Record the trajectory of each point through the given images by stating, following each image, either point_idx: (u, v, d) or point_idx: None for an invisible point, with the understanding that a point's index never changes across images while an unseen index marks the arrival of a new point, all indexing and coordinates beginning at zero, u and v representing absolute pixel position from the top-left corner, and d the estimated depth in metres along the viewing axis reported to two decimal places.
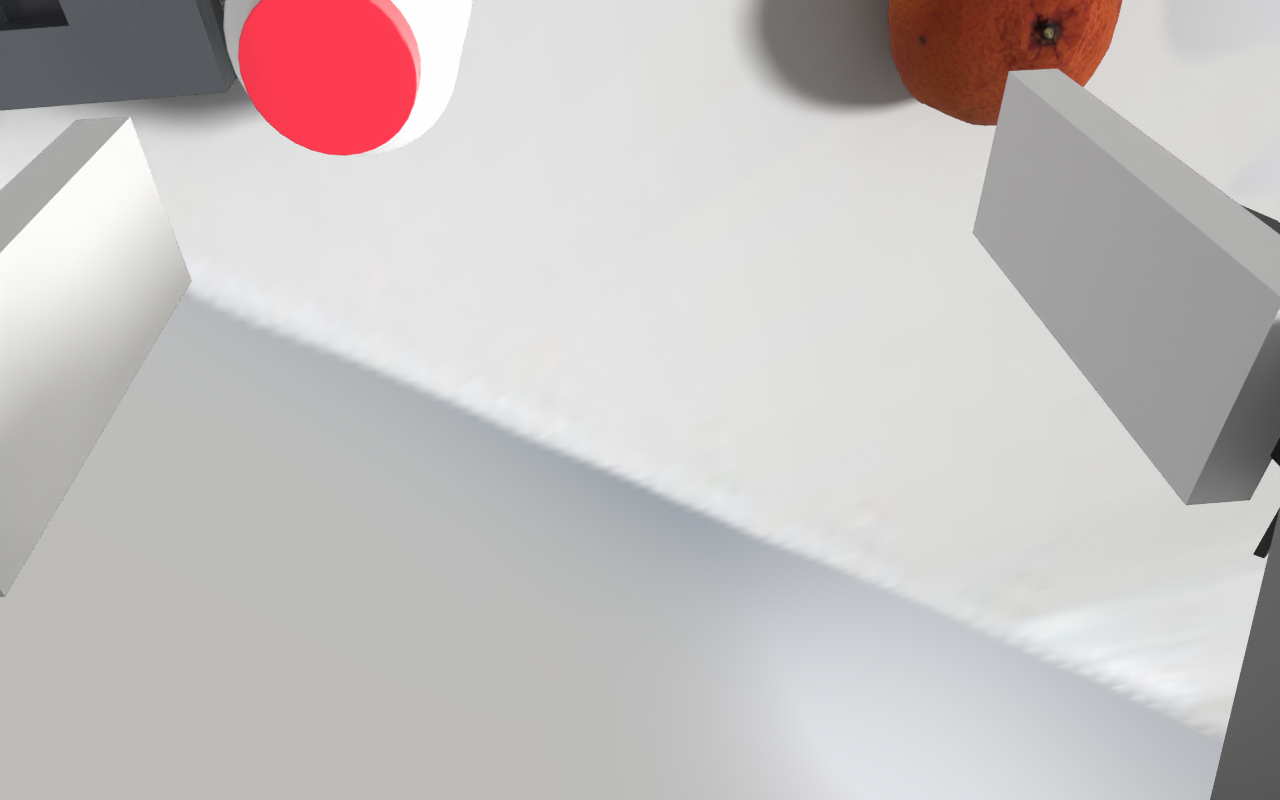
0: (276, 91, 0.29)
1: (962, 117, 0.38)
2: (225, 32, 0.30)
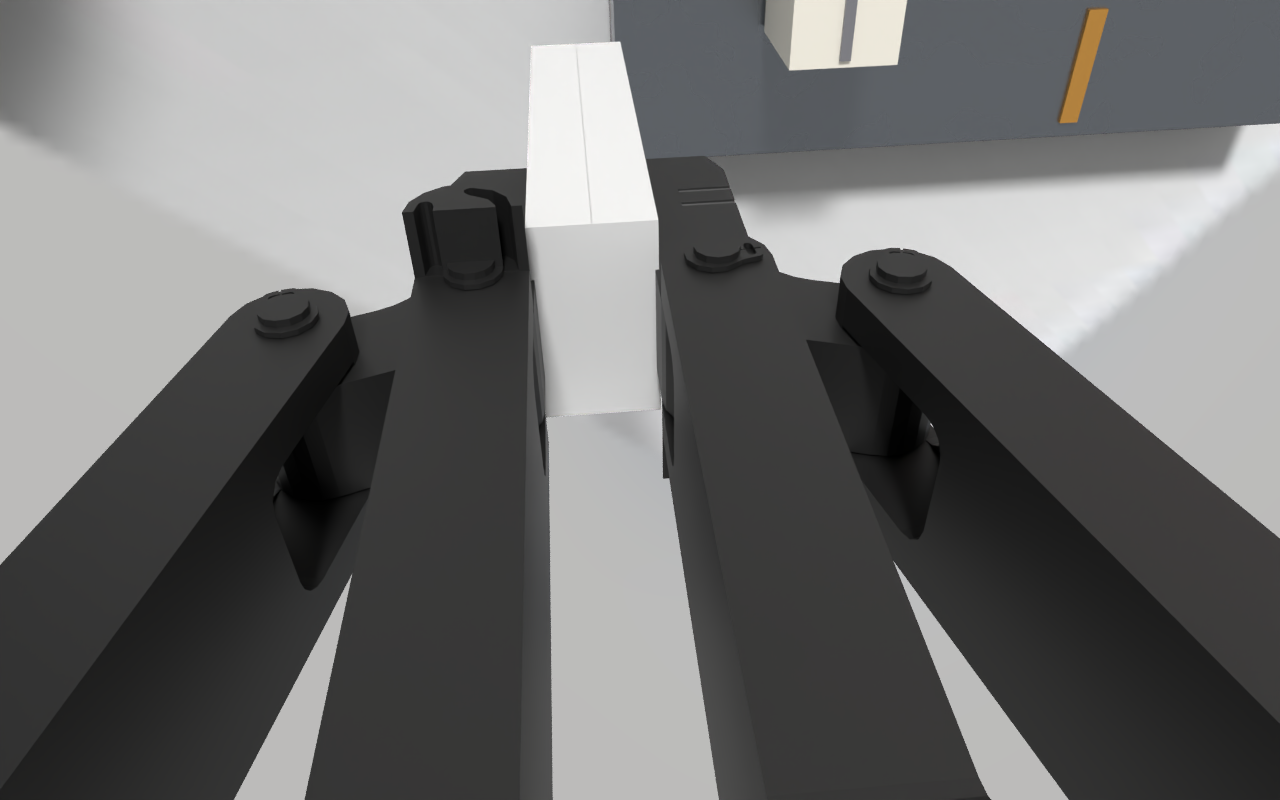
0: None
1: None
2: None
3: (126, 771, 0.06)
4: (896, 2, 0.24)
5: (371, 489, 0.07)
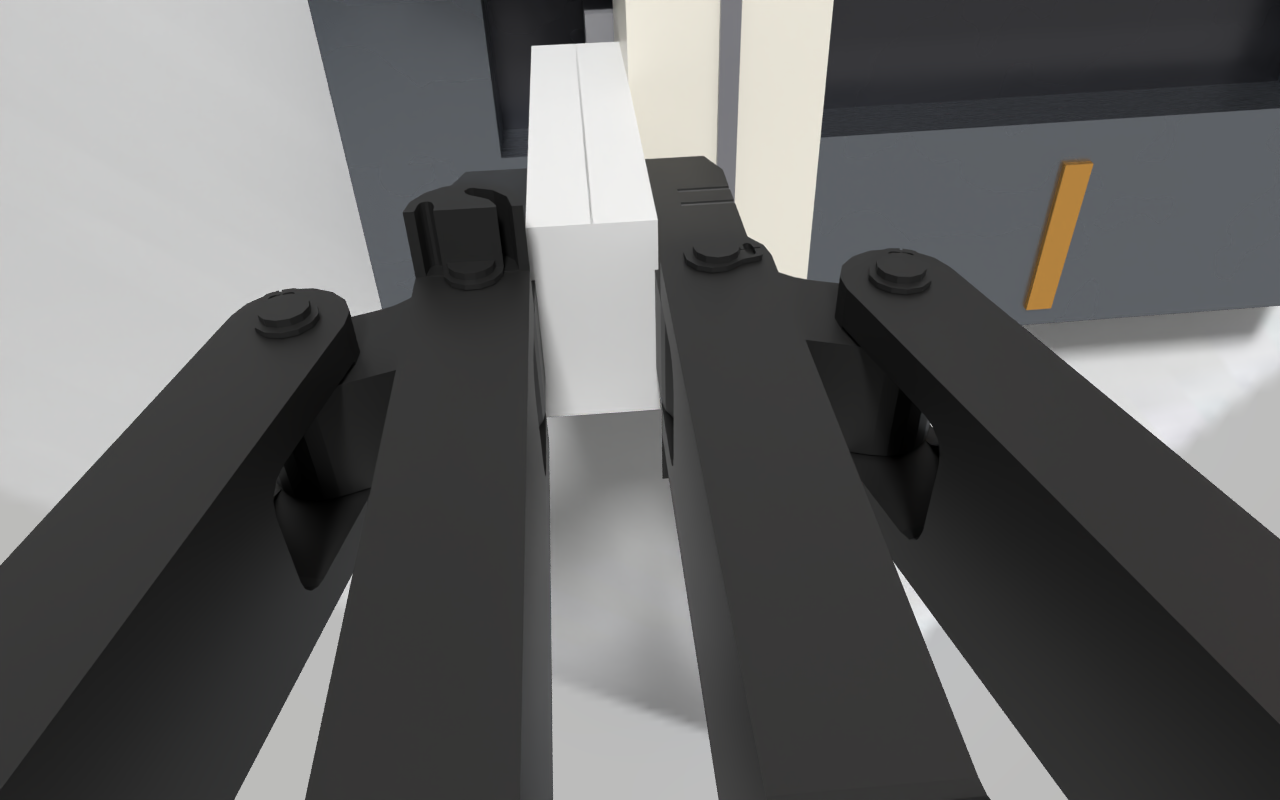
0: None
1: None
2: None
3: (126, 771, 0.06)
4: (798, 196, 0.15)
5: (371, 489, 0.07)
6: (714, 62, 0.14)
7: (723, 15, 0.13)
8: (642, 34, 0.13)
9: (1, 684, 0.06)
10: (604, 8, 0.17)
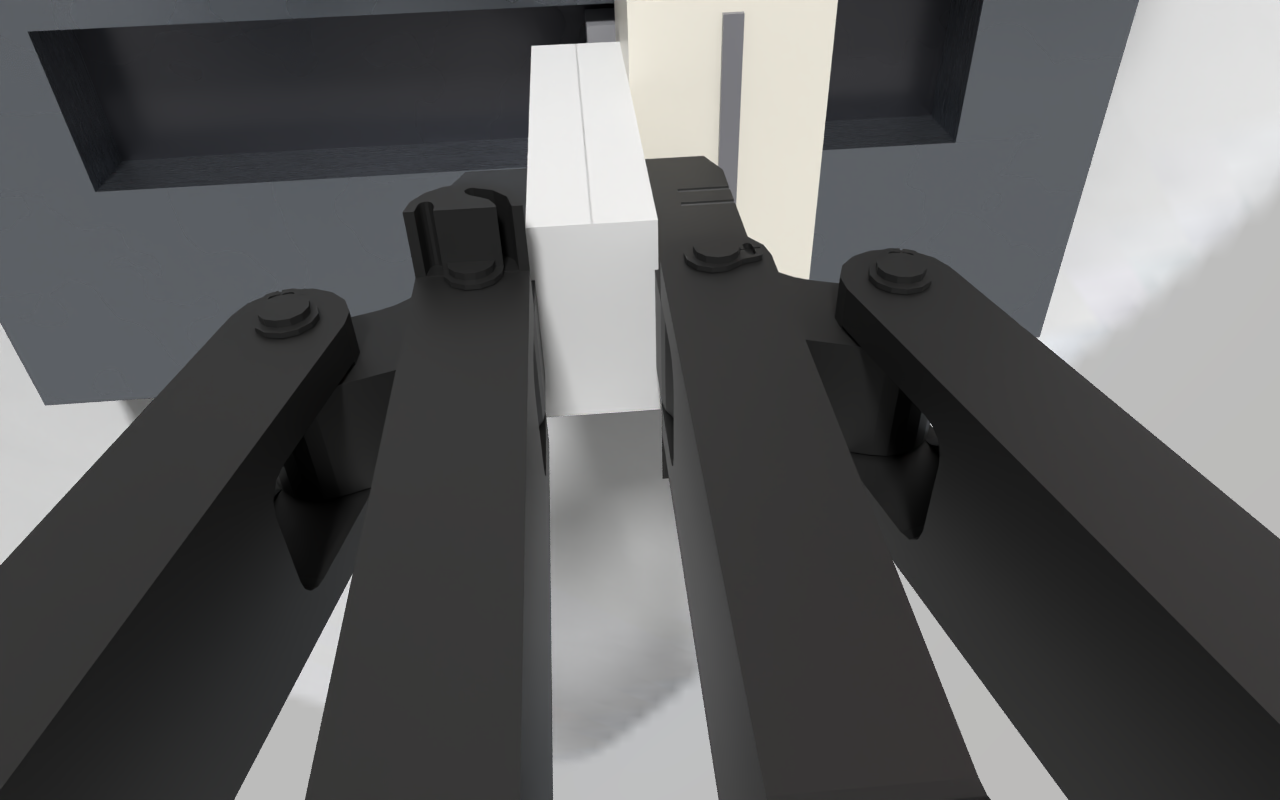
0: None
1: None
2: None
3: (126, 771, 0.06)
4: (799, 211, 0.15)
5: (371, 489, 0.07)
6: (716, 76, 0.14)
7: (725, 31, 0.13)
8: (644, 48, 0.13)
9: (1, 684, 0.06)
10: (606, 20, 0.17)
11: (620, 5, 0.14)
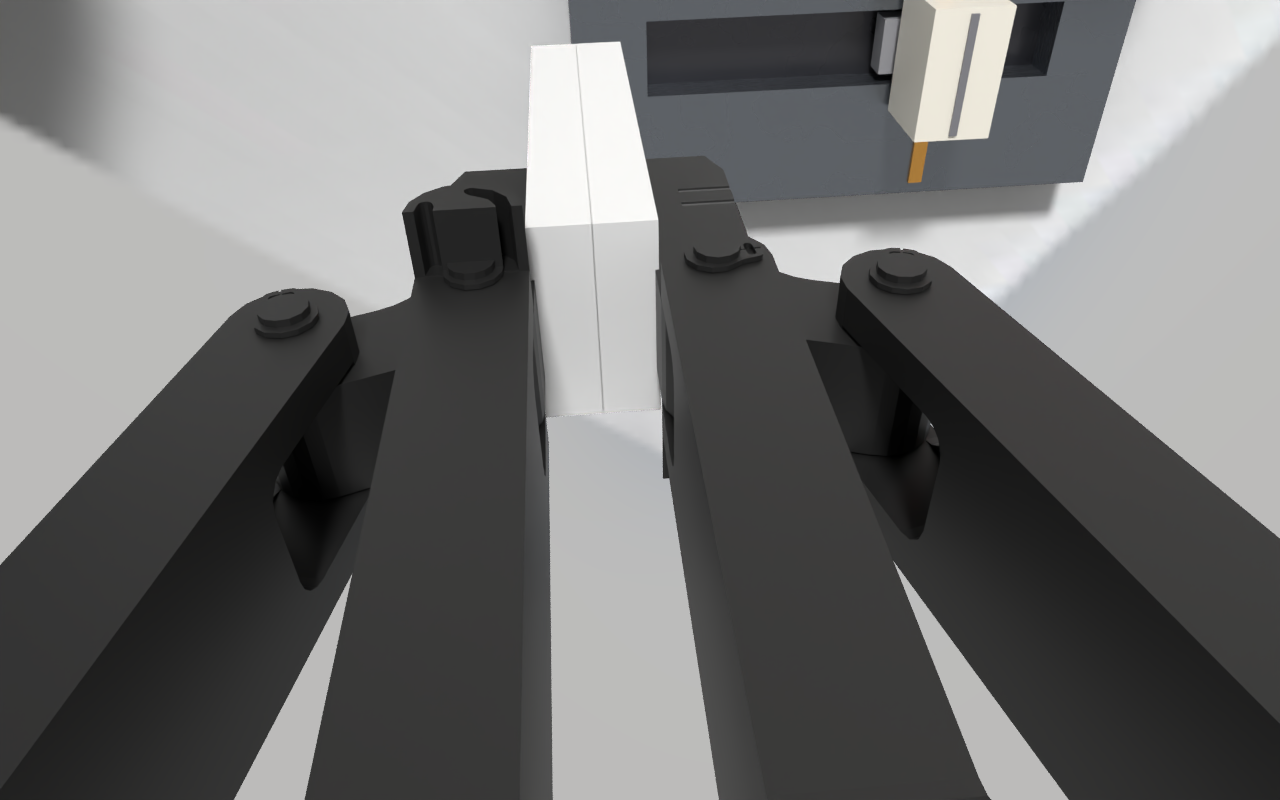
0: None
1: None
2: None
3: (126, 771, 0.06)
4: (990, 97, 0.35)
5: (370, 489, 0.07)
6: (965, 39, 0.34)
7: (971, 20, 0.34)
8: (939, 27, 0.34)
9: None
10: (891, 17, 0.37)
11: (919, 10, 0.35)
